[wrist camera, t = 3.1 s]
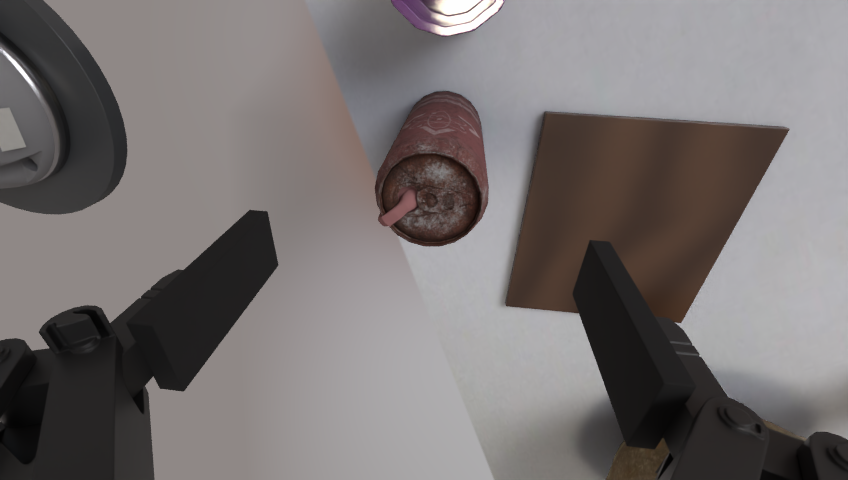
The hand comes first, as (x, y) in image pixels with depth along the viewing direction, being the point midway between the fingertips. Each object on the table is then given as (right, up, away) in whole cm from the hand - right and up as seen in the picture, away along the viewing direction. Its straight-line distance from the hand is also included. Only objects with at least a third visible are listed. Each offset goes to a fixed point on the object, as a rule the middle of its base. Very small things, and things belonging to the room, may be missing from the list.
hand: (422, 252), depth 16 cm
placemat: (+18, +1, +19) cm, 26 cm away
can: (+2, +10, +16) cm, 19 cm away
